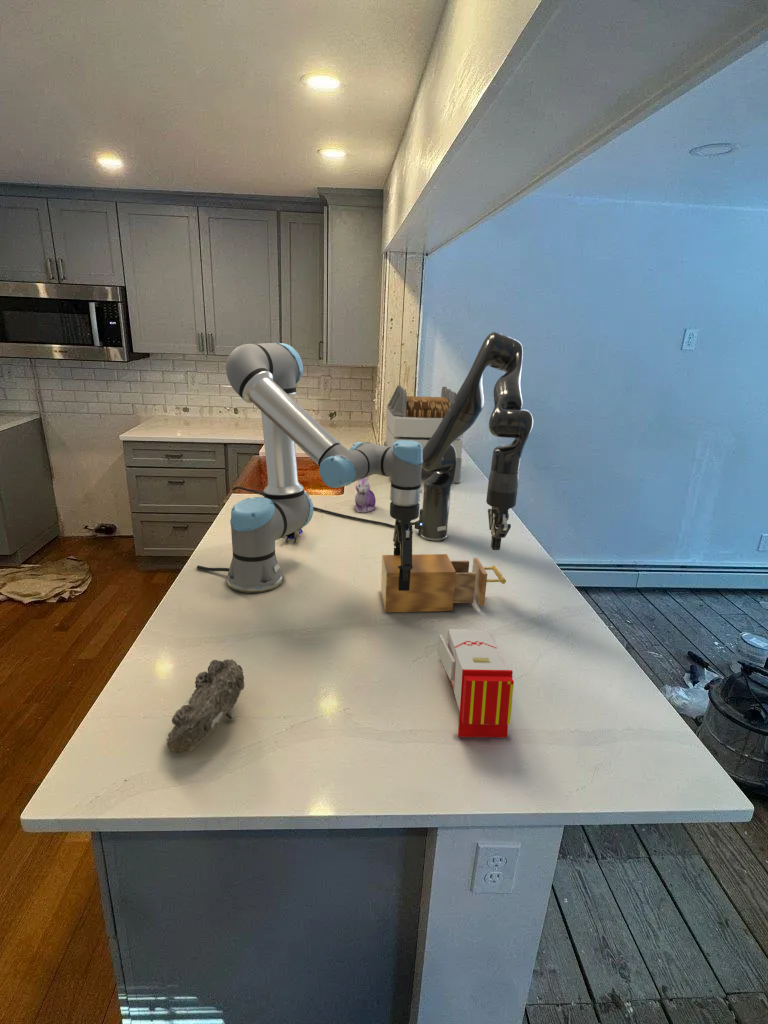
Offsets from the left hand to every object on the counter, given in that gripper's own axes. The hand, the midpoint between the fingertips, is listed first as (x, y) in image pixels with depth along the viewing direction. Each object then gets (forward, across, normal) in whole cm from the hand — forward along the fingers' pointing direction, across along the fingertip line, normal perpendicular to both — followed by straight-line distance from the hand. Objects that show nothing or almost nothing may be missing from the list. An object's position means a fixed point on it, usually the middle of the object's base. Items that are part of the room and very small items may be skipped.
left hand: (400, 579), depth 151 cm
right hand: (-9, 0, -25) cm, 26 cm away
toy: (+7, -39, -10) cm, 40 cm away
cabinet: (+7, 0, -4) cm, 8 cm away
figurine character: (+7, +46, +31) cm, 55 cm away
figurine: (+7, +74, +4) cm, 75 cm away
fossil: (+7, -44, +42) cm, 61 cm away
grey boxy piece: (+7, +127, -26) cm, 130 cm away
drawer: (+6, 0, -17) cm, 17 cm away
